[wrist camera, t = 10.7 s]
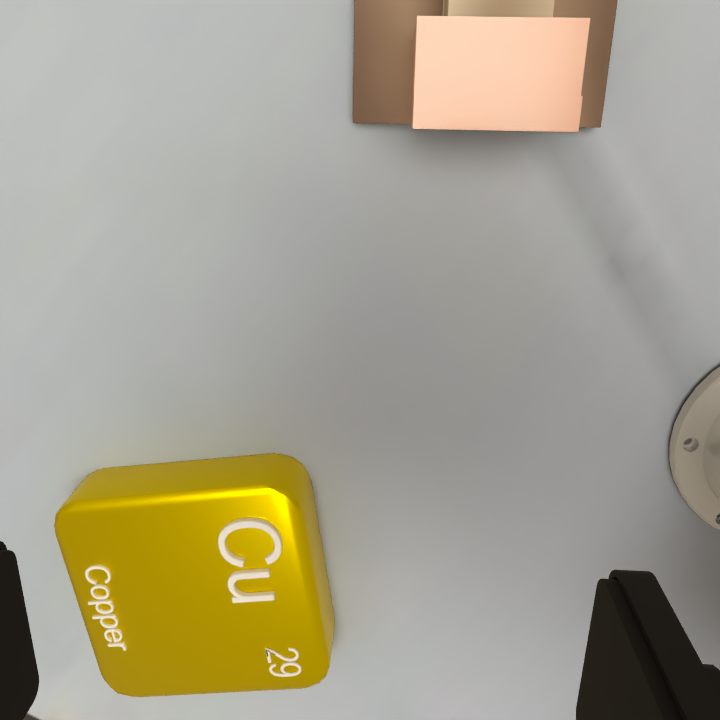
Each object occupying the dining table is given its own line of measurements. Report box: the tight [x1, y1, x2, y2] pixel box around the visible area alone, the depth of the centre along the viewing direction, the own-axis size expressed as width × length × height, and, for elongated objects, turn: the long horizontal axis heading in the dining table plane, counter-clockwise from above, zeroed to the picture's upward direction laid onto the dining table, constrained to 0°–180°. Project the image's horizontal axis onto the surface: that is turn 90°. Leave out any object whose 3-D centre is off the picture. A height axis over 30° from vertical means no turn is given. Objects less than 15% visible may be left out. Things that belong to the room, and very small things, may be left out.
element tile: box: [54, 453, 335, 697], centre depth 43 cm, size 15×15×5 cm
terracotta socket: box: [410, 16, 590, 132], centre depth 29 cm, size 6×4×7 cm, turn 89°
